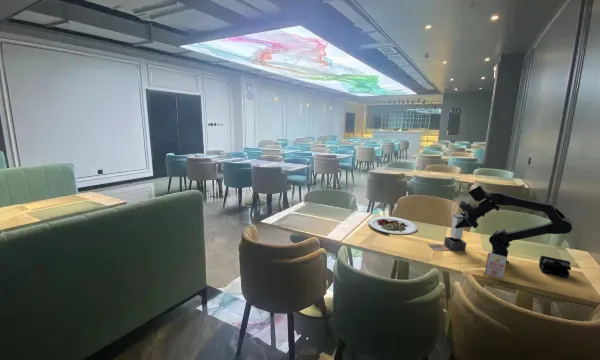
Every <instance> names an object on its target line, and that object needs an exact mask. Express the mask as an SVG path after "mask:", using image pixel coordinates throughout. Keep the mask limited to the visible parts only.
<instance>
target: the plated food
mask: <svg viewBox="0 0 600 360" xmlns="http://www.w3.org/2000/svg"><path fill="white" fill-rule="evenodd" d="M368 225H369V226H370V227H371V228H373V229H374V230H376V231H379V232H383V233H386V234H393V235H410V234H413V233H415V232H417V230H418V226H417V225H416V224H415V223H414V222H412V221H410V220H407V219H405V218H401V217H396V216H375V217H371V218H370V219H368Z"/></svg>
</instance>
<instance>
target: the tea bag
mask: <svg viewBox="0 0 600 360" xmlns="http://www.w3.org/2000/svg"><path fill="white" fill-rule="evenodd" d="M507 258H508V256H507V257H505V256H501V255H497V254H493V253H492V252H488V253H487V258H486V264H485V270H484V275H485V276H486V275H487V276H489V275H490V277H493V278H496V279H500V280H503V279H504V273H505V268H506V265H507V263H506V259H507Z"/></svg>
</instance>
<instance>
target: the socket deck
mask: <svg viewBox="0 0 600 360" xmlns="http://www.w3.org/2000/svg"><path fill="white" fill-rule="evenodd" d="M427 246H428V247H429V248H430V249H432V251H433V252H466V246H467V242H466V241H465V240H463V238H462V239H454V238H453V237H452V236H445V238H444V242H443V243H433V244H432V243H427Z"/></svg>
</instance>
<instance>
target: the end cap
mask: <svg viewBox="0 0 600 360" xmlns="http://www.w3.org/2000/svg"><path fill="white" fill-rule="evenodd" d="M538 260H539V261H538V263H539V264H538V265H539V266H538V267H539V269H540V271H541V273H542V274H545V275H549V276H554V277H557V278H562V279H566V280H567V279H569V276H570V272H569V271H571V270H572V267H571V261H569V260H566V259H565V260H564V259H560V258H555V257H551V256H545V255H541V256H540V257H539V259H538Z"/></svg>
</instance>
